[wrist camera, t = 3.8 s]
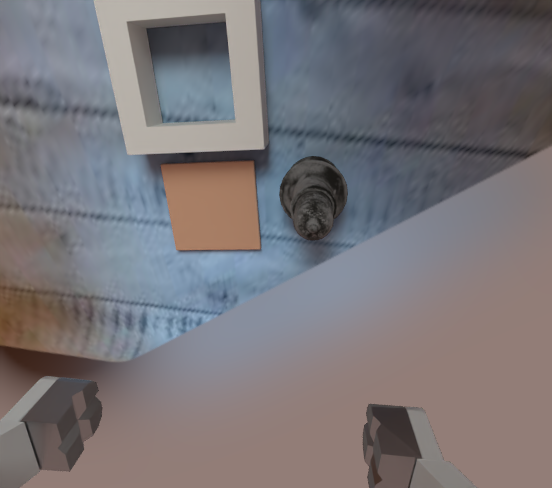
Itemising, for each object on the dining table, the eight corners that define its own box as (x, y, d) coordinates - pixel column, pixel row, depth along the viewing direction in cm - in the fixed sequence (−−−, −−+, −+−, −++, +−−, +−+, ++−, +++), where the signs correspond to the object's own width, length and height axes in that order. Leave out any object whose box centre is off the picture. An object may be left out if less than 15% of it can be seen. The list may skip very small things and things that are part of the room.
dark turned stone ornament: (276, 205, 35) (260, 259, 24) (290, 146, 33) (279, 176, 22) (334, 219, 35) (344, 279, 24) (352, 161, 33) (372, 198, 22)
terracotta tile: (254, 160, 33) (253, 161, 33) (261, 246, 37) (260, 249, 36) (163, 163, 34) (160, 164, 34) (178, 247, 38) (176, 250, 37)
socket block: (259, -14, 28) (252, -27, 25) (269, 143, 33) (264, 149, 29) (115, -1, 29) (91, -12, 26) (145, 148, 34) (127, 154, 31)
